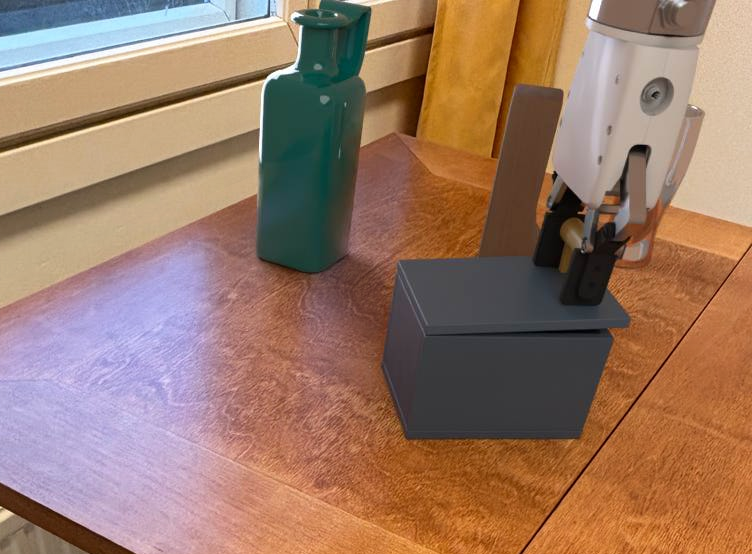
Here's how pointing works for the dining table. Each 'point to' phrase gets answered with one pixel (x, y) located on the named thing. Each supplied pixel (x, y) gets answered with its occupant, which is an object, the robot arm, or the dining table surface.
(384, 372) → the chest
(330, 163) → the green bottle
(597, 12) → the robot arm
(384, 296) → the dining table surface
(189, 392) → the dining table surface
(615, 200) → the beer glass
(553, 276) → the lid
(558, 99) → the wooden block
